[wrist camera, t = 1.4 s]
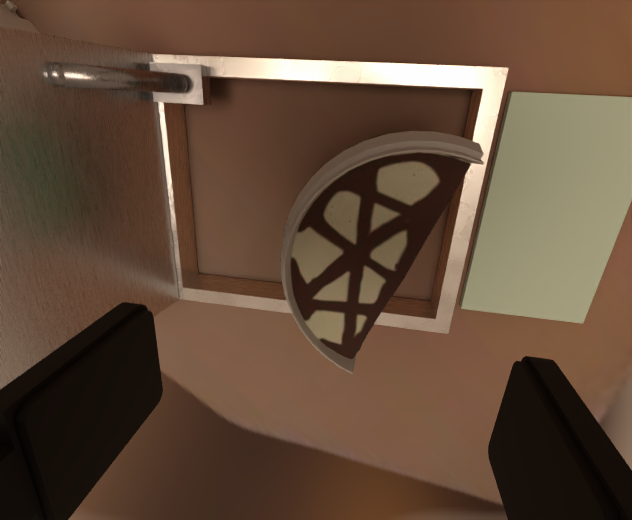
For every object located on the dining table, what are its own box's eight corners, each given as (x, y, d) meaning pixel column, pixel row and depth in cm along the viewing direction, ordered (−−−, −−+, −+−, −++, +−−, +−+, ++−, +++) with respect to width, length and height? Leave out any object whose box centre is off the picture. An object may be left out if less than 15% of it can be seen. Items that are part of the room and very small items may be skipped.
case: (127, 57, 24) (-295, -23, 9) (494, 71, 21) (776, -11, 6) (157, 279, 30) (-61, 449, 15) (442, 314, 27) (516, 568, 12)
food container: (356, 87, 22) (339, 75, 13) (447, 131, 22) (493, 149, 13) (284, 255, 27) (236, 330, 18) (358, 290, 28) (347, 381, 18)
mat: (508, 92, 21) (512, 91, 21) (663, 99, 20) (671, 98, 20) (459, 304, 27) (461, 308, 26) (578, 318, 26) (583, 323, 25)
